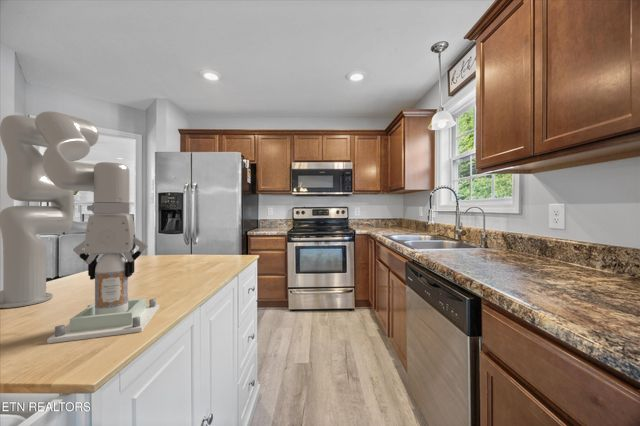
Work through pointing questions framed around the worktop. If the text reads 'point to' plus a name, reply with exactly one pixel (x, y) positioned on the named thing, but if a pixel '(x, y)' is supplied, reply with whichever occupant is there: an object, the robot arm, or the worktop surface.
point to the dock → (106, 322)
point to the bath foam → (111, 285)
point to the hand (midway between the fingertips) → (112, 276)
